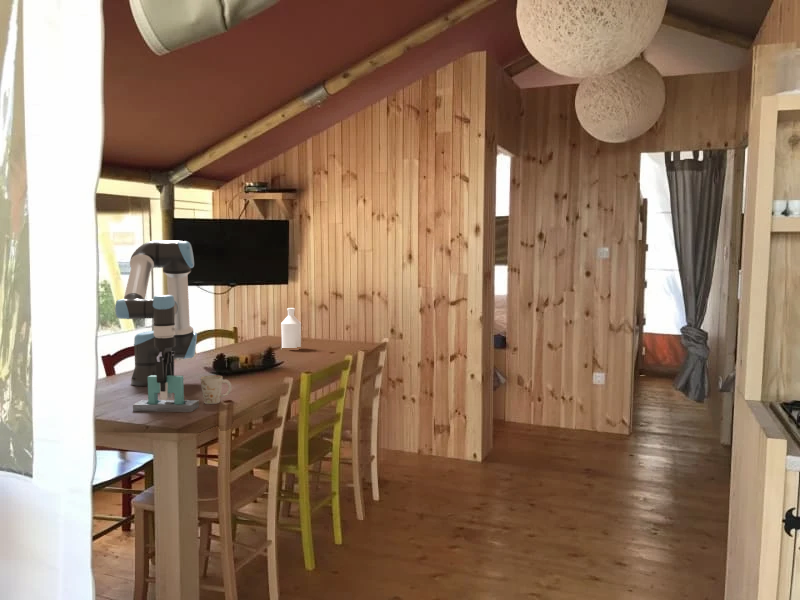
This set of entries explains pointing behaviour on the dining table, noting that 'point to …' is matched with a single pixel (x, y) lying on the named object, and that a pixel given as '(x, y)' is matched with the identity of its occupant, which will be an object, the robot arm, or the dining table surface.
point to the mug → (213, 388)
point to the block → (166, 406)
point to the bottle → (291, 331)
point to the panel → (173, 387)
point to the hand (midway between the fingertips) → (166, 398)
